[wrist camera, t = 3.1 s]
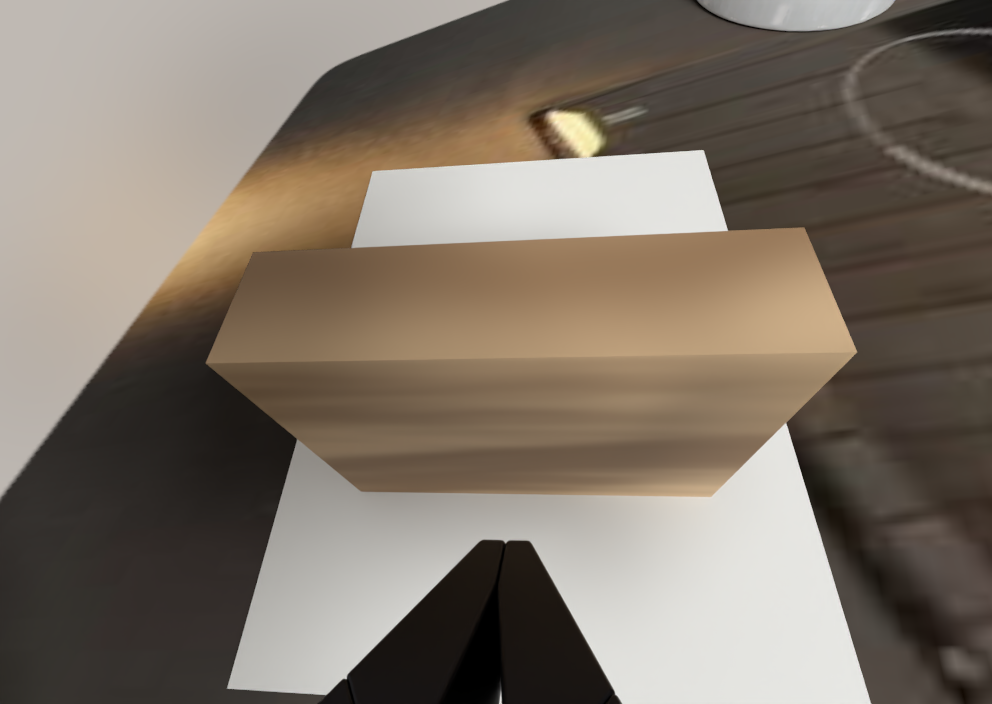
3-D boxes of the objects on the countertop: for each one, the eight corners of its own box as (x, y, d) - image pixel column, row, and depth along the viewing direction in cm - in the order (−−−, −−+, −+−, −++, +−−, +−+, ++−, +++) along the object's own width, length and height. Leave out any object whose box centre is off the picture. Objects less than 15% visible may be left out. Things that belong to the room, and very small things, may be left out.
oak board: (710, 496, 16) (857, 352, 8) (361, 491, 17) (205, 363, 9) (694, 413, 17) (804, 227, 10) (375, 415, 19) (253, 252, 11)
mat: (868, 728, 13) (879, 731, 12) (236, 687, 15) (227, 688, 14) (700, 158, 25) (703, 150, 25) (375, 178, 27) (372, 171, 27)
